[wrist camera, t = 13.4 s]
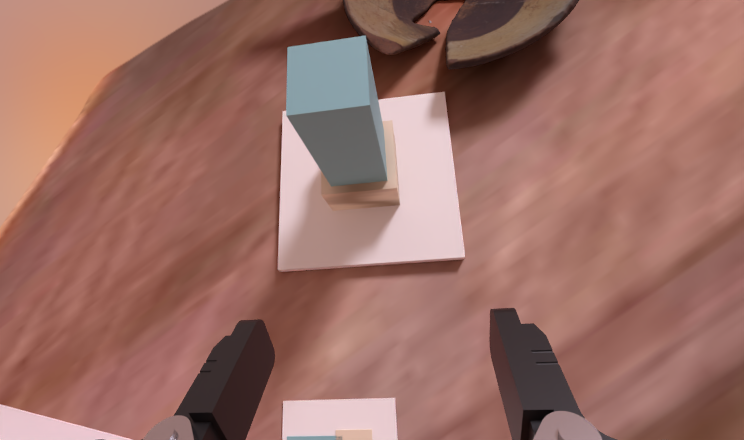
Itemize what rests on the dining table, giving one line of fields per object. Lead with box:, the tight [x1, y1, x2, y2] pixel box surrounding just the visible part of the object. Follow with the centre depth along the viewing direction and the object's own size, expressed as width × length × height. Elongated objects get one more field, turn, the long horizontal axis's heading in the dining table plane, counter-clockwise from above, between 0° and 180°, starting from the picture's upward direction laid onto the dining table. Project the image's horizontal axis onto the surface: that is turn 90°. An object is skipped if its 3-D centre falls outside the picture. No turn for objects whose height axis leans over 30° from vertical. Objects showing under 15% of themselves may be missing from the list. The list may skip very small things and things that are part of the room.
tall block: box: [286, 35, 388, 187], centre depth 24 cm, size 4×4×10 cm
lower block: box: [321, 120, 400, 211], centre depth 31 cm, size 6×6×4 cm
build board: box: [278, 92, 465, 272], centre depth 33 cm, size 16×16×1 cm
